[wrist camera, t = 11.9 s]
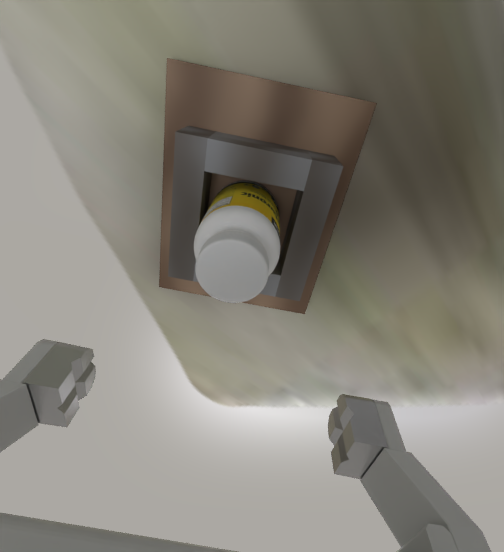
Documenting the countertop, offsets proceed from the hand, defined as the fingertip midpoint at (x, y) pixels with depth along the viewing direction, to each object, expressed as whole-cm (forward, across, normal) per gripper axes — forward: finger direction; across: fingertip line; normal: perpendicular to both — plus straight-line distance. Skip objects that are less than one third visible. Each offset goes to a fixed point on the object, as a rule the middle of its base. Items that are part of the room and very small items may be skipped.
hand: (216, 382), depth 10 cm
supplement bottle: (+17, 0, +1) cm, 17 cm away
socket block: (+18, 0, 0) cm, 18 cm away
